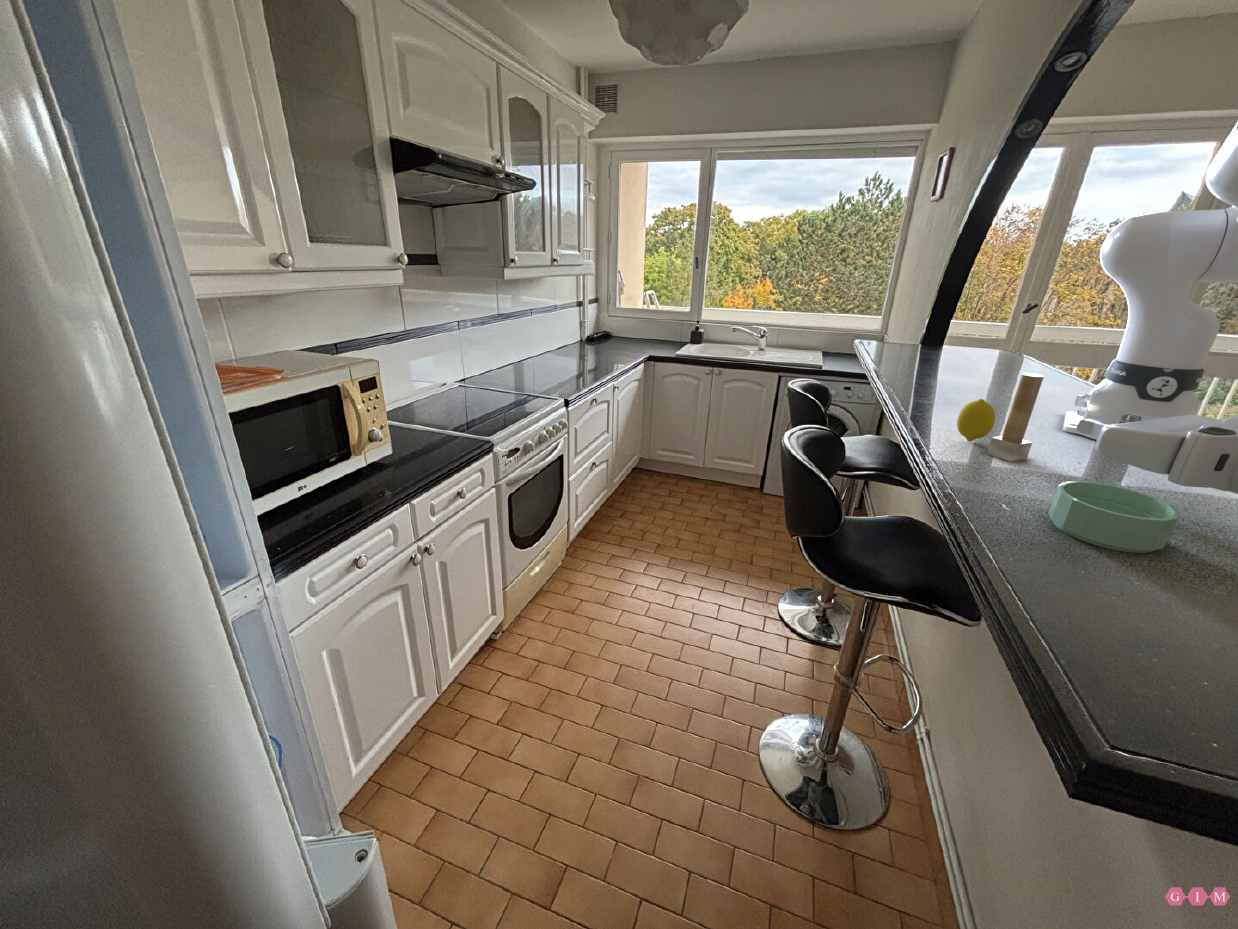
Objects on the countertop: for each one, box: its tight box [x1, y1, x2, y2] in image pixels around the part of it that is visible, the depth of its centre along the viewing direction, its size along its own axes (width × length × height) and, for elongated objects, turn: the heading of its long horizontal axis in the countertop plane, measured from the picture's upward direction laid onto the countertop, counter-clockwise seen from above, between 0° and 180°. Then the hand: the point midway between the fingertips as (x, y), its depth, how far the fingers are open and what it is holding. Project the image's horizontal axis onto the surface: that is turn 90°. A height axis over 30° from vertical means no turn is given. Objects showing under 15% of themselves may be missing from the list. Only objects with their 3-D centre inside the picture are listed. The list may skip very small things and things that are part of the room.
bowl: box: [1047, 480, 1181, 554], centre depth 61 cm, size 11×11×4 cm
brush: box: [986, 372, 1045, 463], centre depth 83 cm, size 4×4×14 cm
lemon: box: [956, 398, 996, 442], centre depth 92 cm, size 6×6×8 cm
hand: (1102, 421), depth 73 cm, fingers open, 8 cm apart
